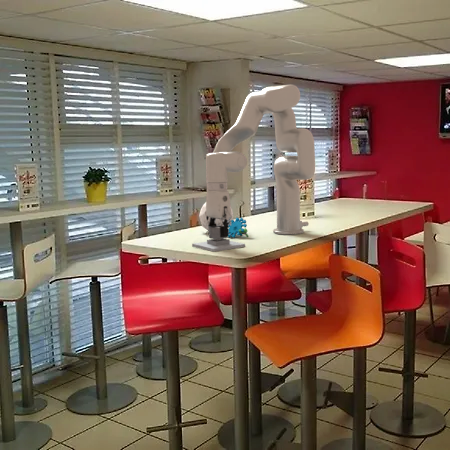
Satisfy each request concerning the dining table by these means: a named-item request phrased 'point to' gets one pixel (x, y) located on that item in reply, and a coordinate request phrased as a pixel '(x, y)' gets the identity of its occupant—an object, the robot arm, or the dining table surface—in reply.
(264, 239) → the dining table surface
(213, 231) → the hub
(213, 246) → the shaft stand
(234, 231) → the gear
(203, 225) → the geometric sphere
